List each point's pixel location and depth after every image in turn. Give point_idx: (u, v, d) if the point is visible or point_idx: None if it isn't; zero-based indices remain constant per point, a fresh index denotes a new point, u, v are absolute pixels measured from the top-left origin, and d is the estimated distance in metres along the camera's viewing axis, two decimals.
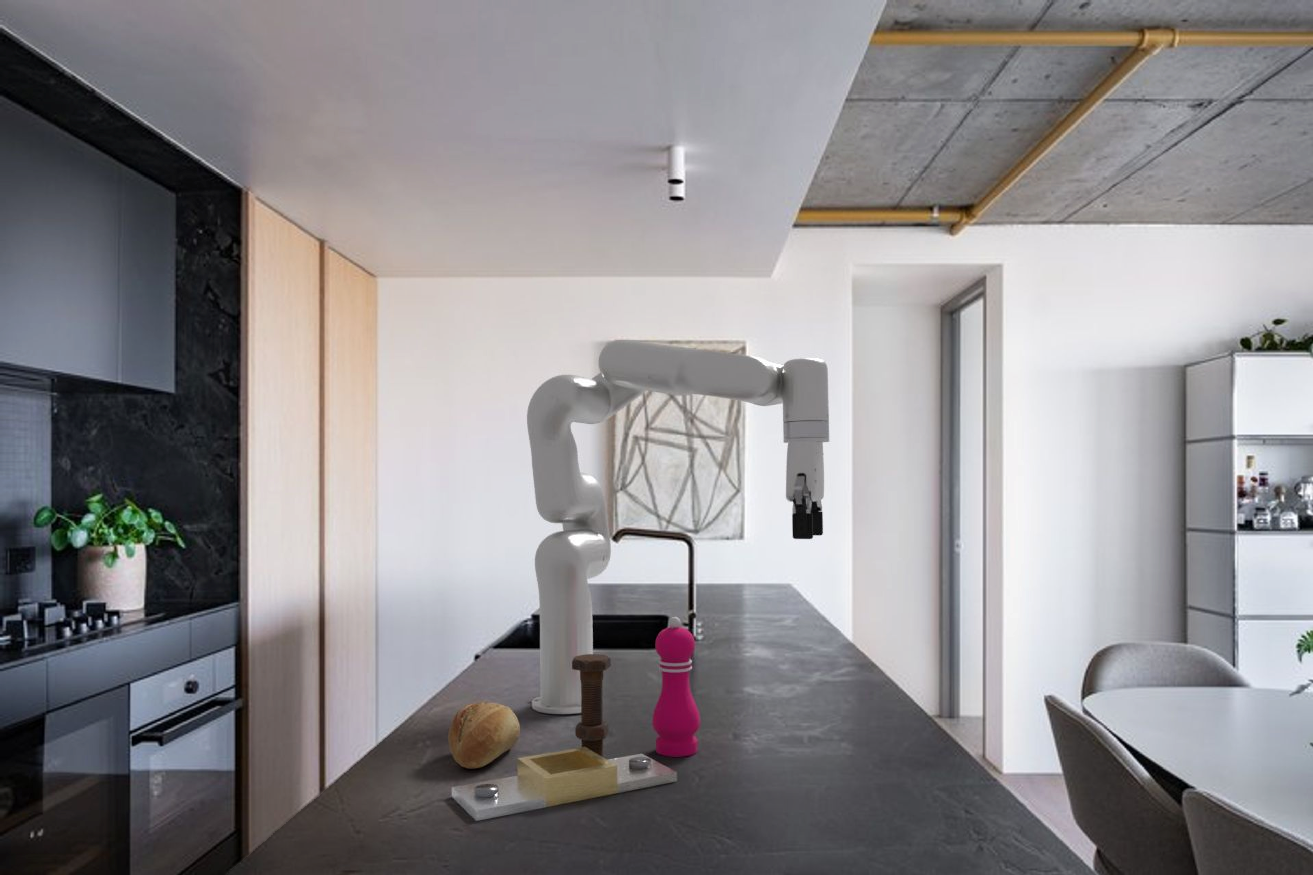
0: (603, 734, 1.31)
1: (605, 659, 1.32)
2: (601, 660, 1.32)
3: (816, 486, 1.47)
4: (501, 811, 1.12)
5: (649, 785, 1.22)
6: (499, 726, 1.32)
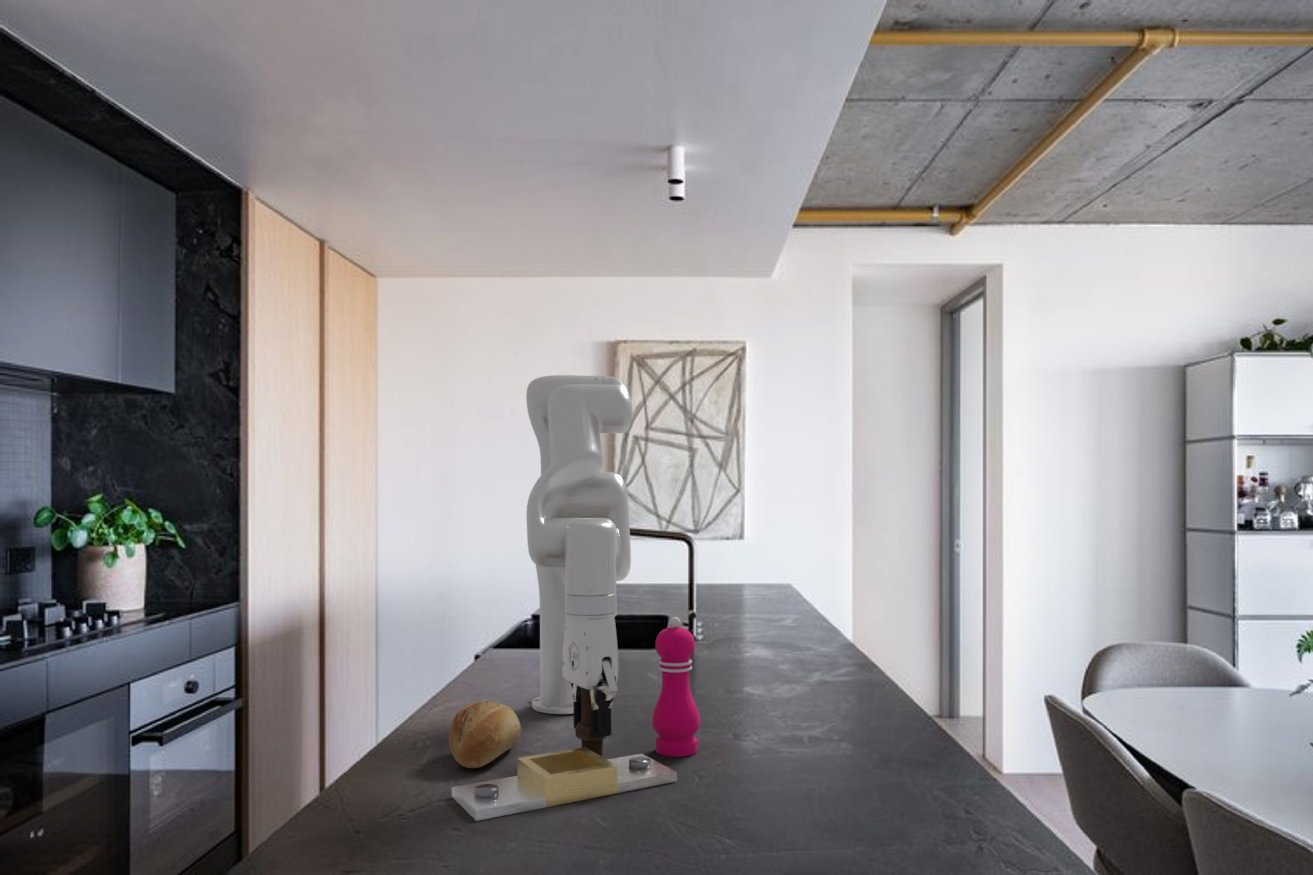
0: None
1: None
2: None
3: None
4: (501, 811, 1.12)
5: (649, 785, 1.22)
6: (500, 725, 1.32)
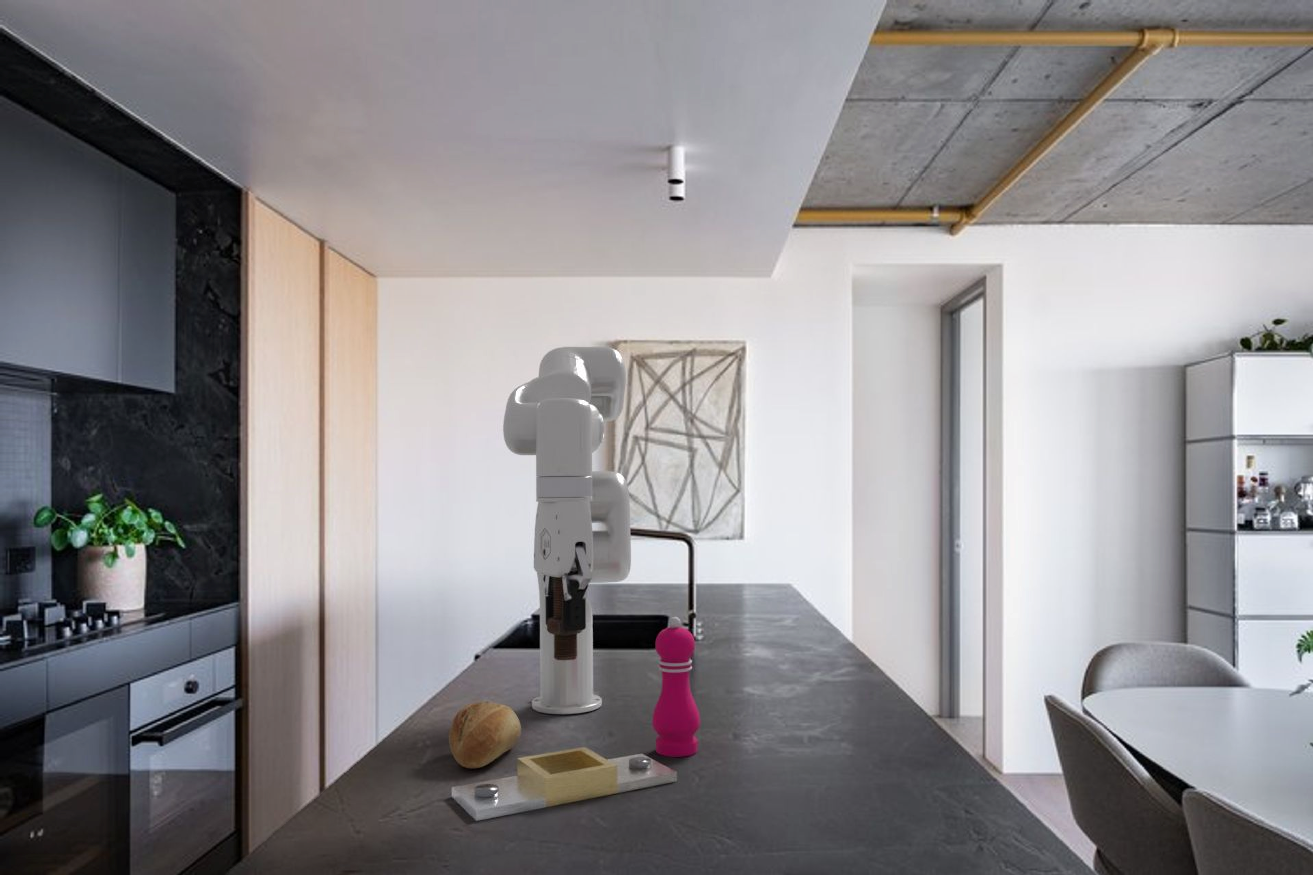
0: None
1: None
2: None
3: None
4: (501, 811, 1.12)
5: (649, 785, 1.22)
6: (500, 726, 1.32)
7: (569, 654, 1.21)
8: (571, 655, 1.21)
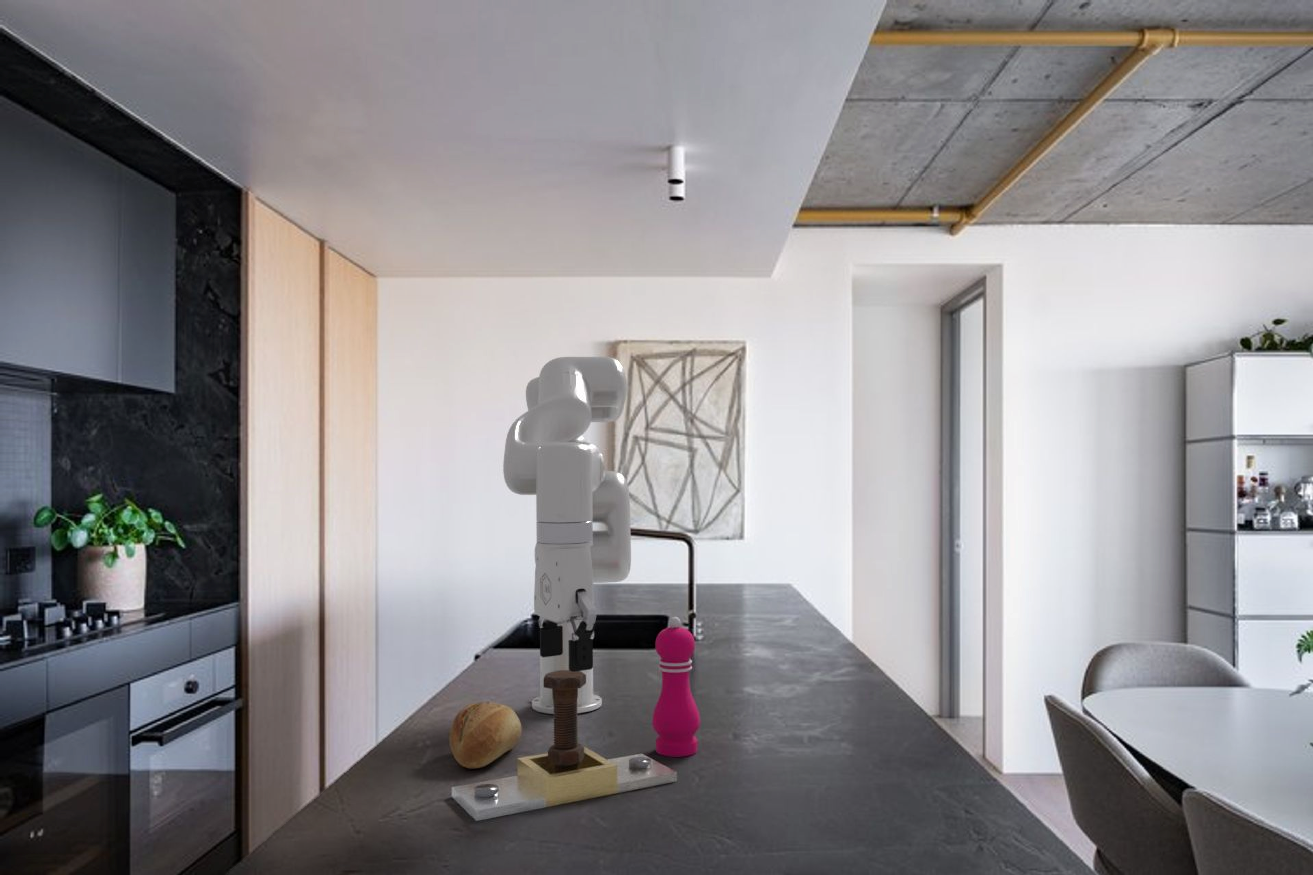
0: (578, 758, 1.20)
1: (580, 676, 1.21)
2: (575, 677, 1.20)
3: None
4: (501, 811, 1.12)
5: (649, 785, 1.22)
6: (500, 726, 1.32)
7: None
8: None
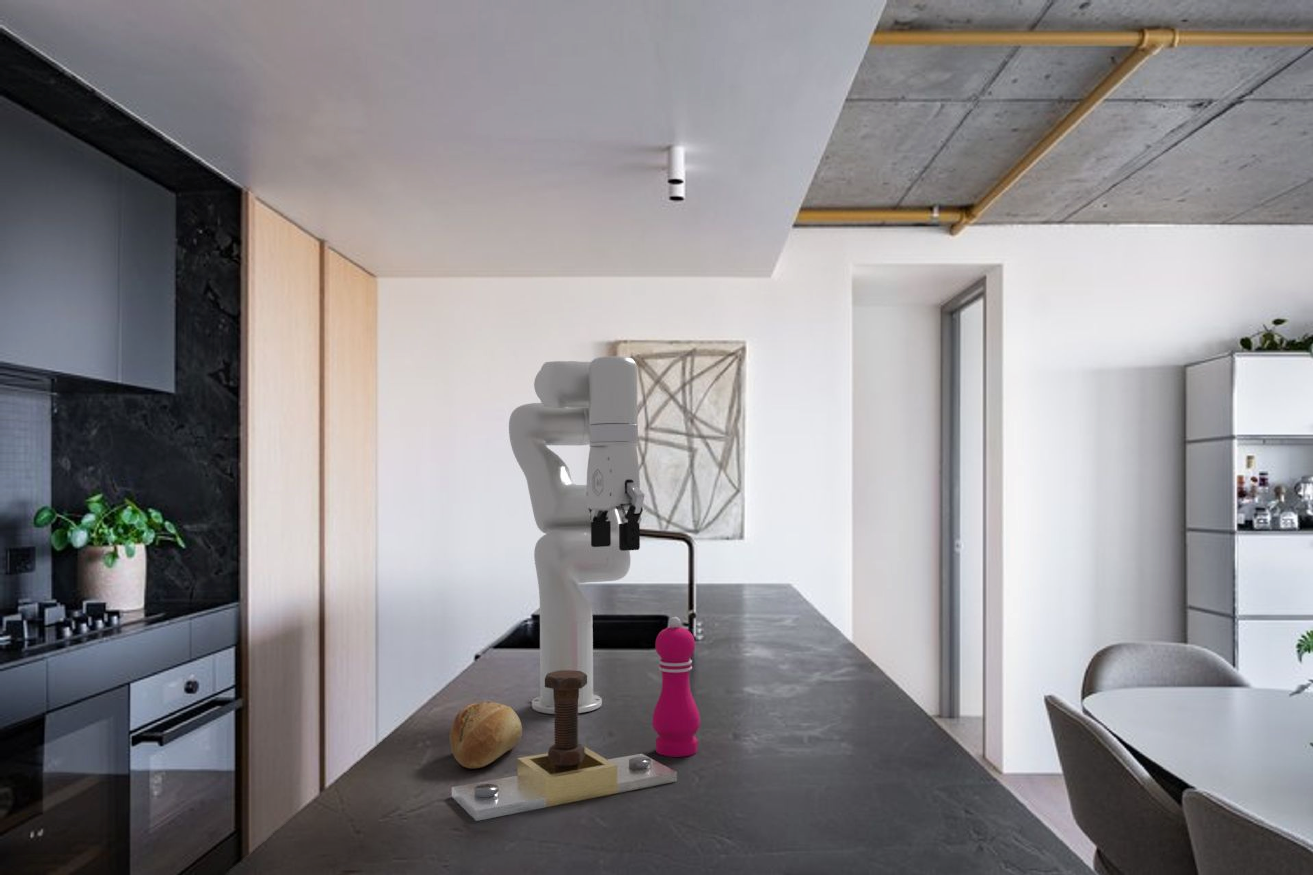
0: (578, 758, 1.20)
1: (581, 676, 1.21)
2: (576, 677, 1.20)
3: None
4: (501, 811, 1.12)
5: (649, 785, 1.22)
6: (500, 726, 1.32)
7: None
8: None
